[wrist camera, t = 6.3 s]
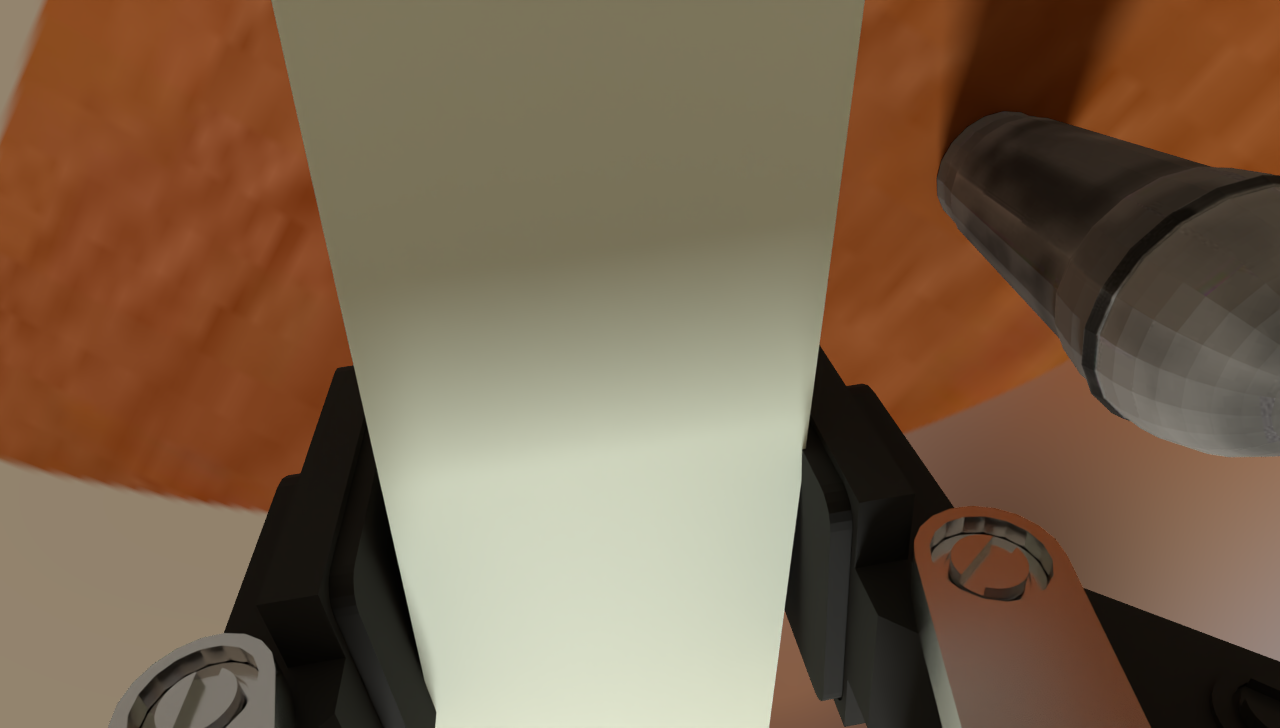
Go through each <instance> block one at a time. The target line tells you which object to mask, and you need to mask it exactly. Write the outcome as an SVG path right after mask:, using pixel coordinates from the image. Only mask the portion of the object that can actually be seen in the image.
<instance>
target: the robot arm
mask: <svg viewBox="0 0 1280 728" xmlns="http://www.w3.org/2000/svg"><path fill="white" fill-rule="evenodd" d="M784 610H785V612H786V615H787V618H788V620H789V623H790V625H791V628H792V631H793V633H794V637H795V639H796V642H797V645H798V647H799V650H800V653H801V655H802V658H803V661H804V663H805V666H806V669H807V672H808V674H809V677H810V680H811V682H812V685H813V688H814V690H815V693H816V695H817V697H818V698H819V700H821V701H824V700H829V699H834V701H835V704H836V707H837V709H838V712H839V714H840V717H841V719H842V722H843V725H844V726H845V727H846V726H851V725H857V724H862V723H866V725H867V728H1280V662H1279V661H1277V660H1273V659H1271V658H1268V657H1266V656H1263V655H1260V654H1258V653H1255V652H1253V651H1250V650H1247V649H1245V648H1242V647H1239V646H1237V645H1234V644H1231V643H1229V642H1226V641H1223V640H1220V639H1218V638H1215V637H1212V636H1210V635H1207V634H1205V633H1202V632H1199V631H1197V630H1194V629H1191V628H1189V627H1186V626H1183V625H1181V624H1178V623H1175V622H1173V621H1170V620H1167V619H1165V618H1162V617H1159V616H1157V615H1154V614H1151V613H1149V612H1146V611H1143V610H1141V609H1138V608H1135V607H1133V606H1130V605H1128V604H1125V603H1122V602H1120V601H1117V600H1114V599H1112V598H1109V597H1106V596H1104V595H1101V594H1098V593H1095V592H1093V591H1090V590H1088V589H1085V588H1083V587H1082V585H1081V583H1080V581H1079V579H1078V577H1077V575H1076V572H1075V570H1074V568H1073V566H1072V564H1071V562H1070V560H1069V558H1068V556H1067V555H1066V553H1065V552H1064V550H1063V549H1062V548H1061V546H1060V545H1059V543H1058V542H1057V541H1056V539H1055V538H1053V537H1052V536H1051V535H1050V534H1048V533H1047V532H1046V531H1045V530H1044V529H1042V528H1041V527H1040V526H1038V525H1037V524H1035V523H1033V522H1031V521H1029V520H1027V519H1025V518H1023V517H1021V516H1019V515H1017V514H1013V513H1009V512H1006V511H1003V510H999V509H996V508H988V507H976V506H967V507H959V508H954V507H953V506H952V504H951V502H950V501H949V500H948V498H947V497H946V496H945V494H944V492H943V491H942V489H941V488H940V487H939V485H938V484H937V482H936V481H935V479H934V478H933V476H932V475H931V474H930V472H929V471H928V469H927V468H926V466H925V465H924V463H923V462H922V461H921V459H920V458H919V456H918V455H917V453H916V452H915V450H914V449H913V448H912V447H911V445H910V444H909V442H908V440H907V439H906V437H905V436H904V435H903V433H902V432H901V430H900V429H899V427H898V426H897V424H896V423H895V422H894V420H893V419H892V417H891V416H890V414H889V413H888V411H887V410H886V409H885V407H884V406H883V404H882V403H881V401H880V400H879V398H878V397H877V395H876V394H875V393H874V391H873V390H872V389H871V388H870V387H869V386H868V385H865V384H857V385H851V386H846V385H845V384H844V382H843V381H842V379H841V378H840V376H839V374H838V373H837V371H836V370H835V368H834V367H833V365H832V364H831V362H830V361H829V359H828V357H827V356H826V354H825V353H824V351H823V350H822V348H821V347H820V345H819V351H818V358H817V366H816V373H815V381H814V389H813V396H812V404H811V411H810V419H809V427H808V434H807V442H806V449H802V476H801V487H800V495H799V502H798V510H797V518H796V525H795V533H794V540H793V548H792V556H791V563H790V571H789V578H788V586H787V594H786V601H785V609H784ZM435 724H436V710H435V707H434V705H433V702H432V699H431V697H430V694H429V691H428V689H427V686H426V683H425V680H424V676H423V671H422V667H421V662H420V658H419V654H418V649H417V645H416V640H415V636H414V631H413V627H412V622H411V618H410V614H409V609H408V605H407V600H406V596H405V591H404V587H403V582H402V578H401V574H400V569H399V565H398V560H397V556H396V551H395V547H394V542H393V538H392V534H391V529H390V525H389V520H388V516H387V511H386V507H385V503H384V498H383V494H382V489H381V485H380V480H379V476H378V471H377V467H376V463H375V458H374V454H373V449H372V445H371V440H370V436H369V431H368V427H367V423H366V418H365V414H364V409H363V405H362V400H361V396H360V391H359V387H358V383H357V378H356V374H355V369H354V366H347V367H340V368H337V370H336V371H335V373H334V376H333V379H332V382H331V385H330V388H329V391H328V394H327V397H326V400H325V403H324V406H323V409H322V412H321V415H320V418H319V421H318V424H317V427H316V430H315V432H314V435H313V438H312V441H311V444H310V447H309V450H308V453H307V456H306V459H305V462H304V465H303V468H302V471H301V473H300V474H294V475H288V476H286V477H285V478H283V479H282V480H281V482H280V484H279V486H278V487H277V490H276V493H275V495H274V498H273V501H272V504H271V506H270V509H269V512H268V514H267V517H266V520H265V523H264V526H263V528H262V531H261V534H260V536H259V539H258V542H257V544H256V547H255V550H254V553H253V555H252V558H251V561H250V563H249V566H248V569H247V572H246V574H245V577H244V580H243V583H242V585H241V588H240V591H239V593H238V596H237V599H236V601H235V604H234V607H233V610H232V612H231V615H230V618H229V620H228V623H227V626H226V629H225V631H224V633H223V634H219V635H214V636H209V637H204V638H200V639H198V640H196V641H194V642H191V643H189V644H186V645H184V646H182V647H180V648H177V649H175V650H174V651H172V652H171V653H169V654H168V655H166V656H165V657H163V658H162V659H160V660H158V661H157V662H155V663H154V664H152V665H151V666H150V667H149V668H148V669H147V670H146V671H145V672H144V673H143V674H142V675H141V676H139V677H138V678H137V679H136V680H135V681H134V682H133V683H132V684H131V686H130V688H128V690H127V691H126V693H125V694H124V695H123V697H122V698H121V699H120V701H119V702H118V704H117V706H116V708H115V711H114V713H113V716H112V718H111V721H110V723H109V726H108V728H435Z"/></svg>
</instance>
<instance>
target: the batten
mask: <svg viewBox="0 0 1280 728" xmlns="http://www.w3.org/2000/svg"><path fill="white" fill-rule="evenodd" d="M271 1H272V5H273V9H274V14H275V18H276V23H277V27H278V32H279V36H280V40H281V45H282V49H283V54H284V58H285V63H286V67H287V72H288V76H289V80H290V85H291V89H292V94H293V98H294V103H295V107H296V112H297V116H298V120H299V125H300V129H301V134H302V138H303V143H304V147H305V152H306V156H307V160H308V165H309V169H310V174H311V178H312V183H313V187H314V192H315V196H316V200H317V205H318V209H319V214H320V218H321V223H322V227H323V232H324V236H325V240H326V245H327V249H328V254H329V258H330V263H331V267H332V271H333V276H334V280H335V285H336V289H337V294H338V298H339V303H340V307H341V311H342V316H343V320H344V325H345V329H346V334H347V338H348V343H349V347H350V351H351V356H352V360H353V365H354V369H355V374H356V378H357V383H358V387H359V391H360V396H361V400H362V405H363V409H364V414H365V418H366V423H367V427H368V431H369V436H370V440H371V445H372V449H373V454H374V458H375V463H376V467H377V471H378V476H379V480H380V485H381V489H382V494H383V498H384V503H385V507H386V511H387V516H388V520H389V525H390V529H391V534H392V538H393V542H394V547H395V551H396V556H397V560H398V565H399V569H400V574H401V578H402V582H403V587H404V591H405V596H406V600H407V605H408V609H409V614H410V618H411V622H412V627H413V631H414V636H415V640H416V645H417V649H418V654H419V658H420V662H421V667H422V671H423V676H424V680H425V683H426V686H427V689H428V691H429V694H430V697H431V699H432V702H433V705H434V707H435V710H436V724H435V728H769V722H770V715H771V707H772V700H773V692H774V684H775V677H776V669H777V661H778V654H779V647H780V639H781V632H782V623H783V616H784V609H785V601H786V594H787V586H788V578H789V571H790V563H791V556H792V548H793V540H794V533H795V525H796V518H797V510H798V502H799V495H800V487H801V476H802V449H806V442H807V434H808V427H809V419H810V411H811V404H812V396H813V389H814V381H815V373H816V366H817V358H818V351H819V343H820V335H821V328H822V320H823V313H824V305H825V297H826V290H827V282H828V275H829V267H830V260H831V252H832V244H833V237H834V229H835V222H836V214H837V206H838V199H839V191H840V184H841V176H842V168H843V161H844V153H845V146H846V138H847V130H848V123H849V115H850V108H851V100H852V93H853V85H854V77H855V70H856V62H857V55H858V47H859V39H860V32H861V24H862V17H863V9H864V1H865V0H271Z"/></svg>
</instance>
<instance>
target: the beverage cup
mask: <svg viewBox="0 0 1280 728" xmlns="http://www.w3.org/2000/svg"><path fill="white" fill-rule="evenodd" d="M937 196H938V198H939V201H940V203H941V205H942V208H943V210H944V211H945V212H946V213H947V214H948V215H949V216H950V217H951V218H952V220H953V221H954V222H955V223H956V225H957V228H958V229H959V230H960V231H961V232H962V233H963V235H964V236H965V237H966V238H967V239H968V240H969V241H970V242H971V243H972V244H973V245H974V246H975V248H976V249H977V250H978V251H979V252H980V253H981V254H982V255H983V256H984V257H985V258H986V259H987V261H988V262H989V263H990V264H991V265H992V266H993V267H994V268H995V269H996V270H997V271H998V272H999V273H1000V275H1001V276H1002V277H1003V278H1004V279H1005V280H1006V281H1007V282H1008V283H1009V284H1010V285H1011V286H1012V288H1013V289H1014V290H1015V291H1016V292H1017V293H1018V294H1019V295H1020V296H1021V297H1022V298H1023V299H1024V300H1025V302H1026V303H1027V304H1028V305H1029V306H1030V307H1031V308H1032V309H1033V310H1034V311H1035V312H1036V313H1037V315H1038V316H1039V317H1040V318H1041V319H1042V320H1043V321H1044V322H1045V323H1046V324H1047V325H1048V326H1049V327H1050V329H1051V330H1052V331H1053V332H1054V333H1055V334H1056V335H1057V336H1058V337H1059V338H1060V341H1061V343H1062V346H1063V349H1064V350H1065V352H1066V353H1067V355H1068V356H1069V358H1070V359H1071V361H1072V362H1073V364H1074V365H1075V367H1076V368H1077V370H1078V371H1079V373H1080V374H1081V375H1082V376H1083V377H1084V378H1085V379H1087V382H1088V385H1089V388H1090V391H1091V393H1092V395H1093V396H1095V397H1096V398H1097V399H1098V400H1099V401H1100V402H1101V403H1102V404H1103V405H1104V406H1105V407H1106V408H1107V409H1108V410H1109V411H1110V412H1111V413H1113V414H1115V415H1117V416H1119V417H1121V418H1123V419H1126V420H1129V421H1132V422H1133V423H1134V424H1136V425H1137V426H1138V427H1140V428H1141V429H1143V430H1145V431H1147V432H1149V433H1151V434H1153V435H1155V436H1156V437H1158V438H1161V439H1164V440H1167V441H1170V442H1173V443H1176V444H1179V445H1183V446H1185V447H1188V448H1191V449H1195V450H1198V451H1201V452H1204V453H1207V454H1212V455H1219V456H1225V457H1267V456H1280V176H1276V175H1272V174H1267V173H1260V172H1254V171H1247V170H1241V169H1234V168H1217V167H1210V166H1207V165H1203V164H1200V163H1197V162H1193V161H1190V160H1187V159H1183V158H1180V157H1177V156H1173V155H1170V154H1167V153H1163V152H1160V151H1156V150H1153V149H1150V148H1146V147H1143V146H1140V145H1136V144H1133V143H1130V142H1126V141H1123V140H1120V139H1116V138H1113V137H1110V136H1106V135H1103V134H1100V133H1096V132H1093V131H1090V130H1086V129H1083V128H1080V127H1076V126H1073V125H1069V124H1066V123H1063V122H1059V121H1056V120H1053V119H1049V118H1039V117H1035V116H1028V115H1026V114H1024V113H1022V112H1007V111H1003V112H999V113H995V114H992V115H988V116H985V117H983V118H981V119H980V120H978V121H976V122H975V123H973V124H971V125H970V126H968V127H967V128H966V129H965V130H964V131H963V132H962V133H961V134H960V135H959V136H958V137H957V138H956V139H955V140H954V141H953V142H952V144H951V145H950V147H949V149H948V150H947V152H946V154H945V155H944V157H943V159H942V161H941V165H940V169H939V172H938V176H937Z"/></svg>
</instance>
